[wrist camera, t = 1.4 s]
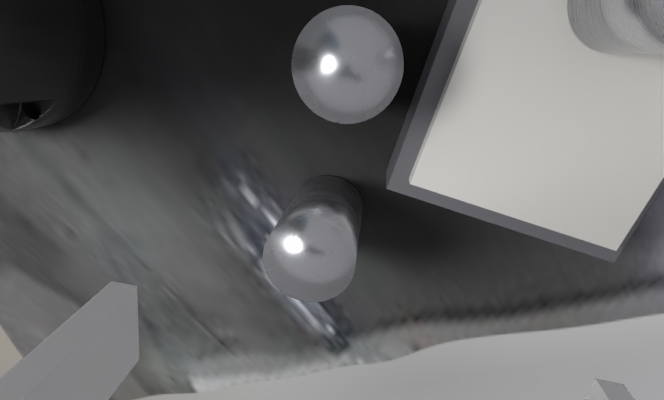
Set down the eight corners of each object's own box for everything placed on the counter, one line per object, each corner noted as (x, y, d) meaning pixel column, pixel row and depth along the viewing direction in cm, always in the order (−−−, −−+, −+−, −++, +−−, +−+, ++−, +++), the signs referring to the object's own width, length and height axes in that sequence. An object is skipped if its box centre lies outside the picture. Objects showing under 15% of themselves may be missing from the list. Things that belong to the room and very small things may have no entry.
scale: (386, 170, 27) (386, 194, 23) (493, -123, 21) (524, -174, 16) (592, 237, 27) (635, 275, 22) (760, -39, 21) (868, -66, 16)
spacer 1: (309, 91, 26) (279, 104, 19) (331, 10, 24) (308, -11, 17) (382, 114, 26) (381, 137, 19) (409, 35, 24) (420, 25, 17)
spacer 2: (286, 227, 30) (253, 285, 22) (304, 166, 28) (274, 206, 20) (350, 248, 30) (339, 313, 22) (372, 187, 28) (368, 236, 20)
